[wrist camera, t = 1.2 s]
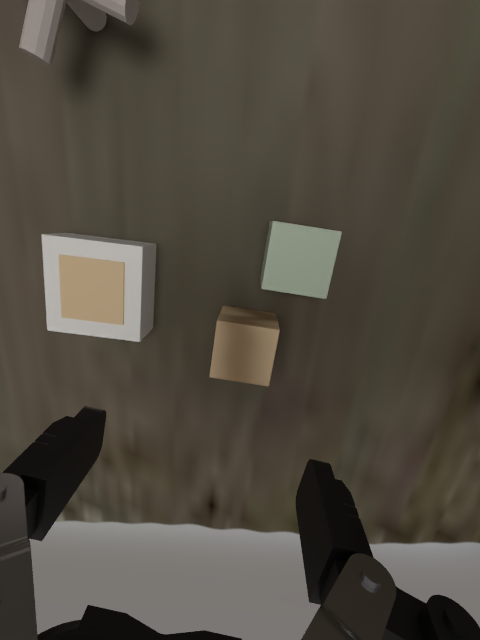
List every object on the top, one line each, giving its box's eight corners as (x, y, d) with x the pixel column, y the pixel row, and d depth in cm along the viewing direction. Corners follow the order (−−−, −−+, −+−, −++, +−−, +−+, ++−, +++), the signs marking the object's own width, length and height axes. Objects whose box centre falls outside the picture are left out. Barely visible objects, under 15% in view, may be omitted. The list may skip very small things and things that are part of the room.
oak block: (276, 313, 30) (279, 330, 26) (266, 361, 32) (268, 386, 27) (223, 304, 30) (217, 320, 26) (216, 353, 32) (209, 377, 27)
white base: (157, 243, 29) (141, 246, 25) (153, 327, 32) (139, 342, 28) (69, 232, 29) (40, 234, 25) (72, 317, 32) (45, 331, 28)
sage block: (327, 230, 28) (341, 231, 23) (314, 286, 30) (326, 299, 25) (269, 221, 28) (273, 220, 23) (260, 278, 30) (261, 288, 25)
